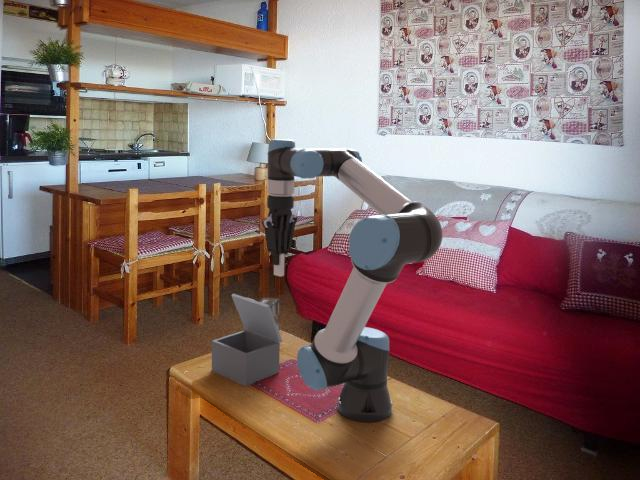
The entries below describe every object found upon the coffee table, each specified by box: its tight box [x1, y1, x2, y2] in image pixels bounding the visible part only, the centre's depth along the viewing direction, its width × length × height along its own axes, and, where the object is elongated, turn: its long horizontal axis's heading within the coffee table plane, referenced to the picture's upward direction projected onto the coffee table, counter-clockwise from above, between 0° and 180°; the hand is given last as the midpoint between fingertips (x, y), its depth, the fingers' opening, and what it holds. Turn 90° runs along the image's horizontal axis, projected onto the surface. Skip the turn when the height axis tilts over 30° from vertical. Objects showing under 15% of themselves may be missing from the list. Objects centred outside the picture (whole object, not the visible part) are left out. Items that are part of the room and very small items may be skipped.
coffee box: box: [257, 297, 281, 342], centre depth 215 cm, size 9×6×16 cm
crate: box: [211, 329, 281, 387], centre depth 193 cm, size 16×14×10 cm
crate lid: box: [231, 293, 283, 344], centre depth 194 cm, size 16×14×1 cm
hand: (278, 275), depth 178 cm, fingers closed
